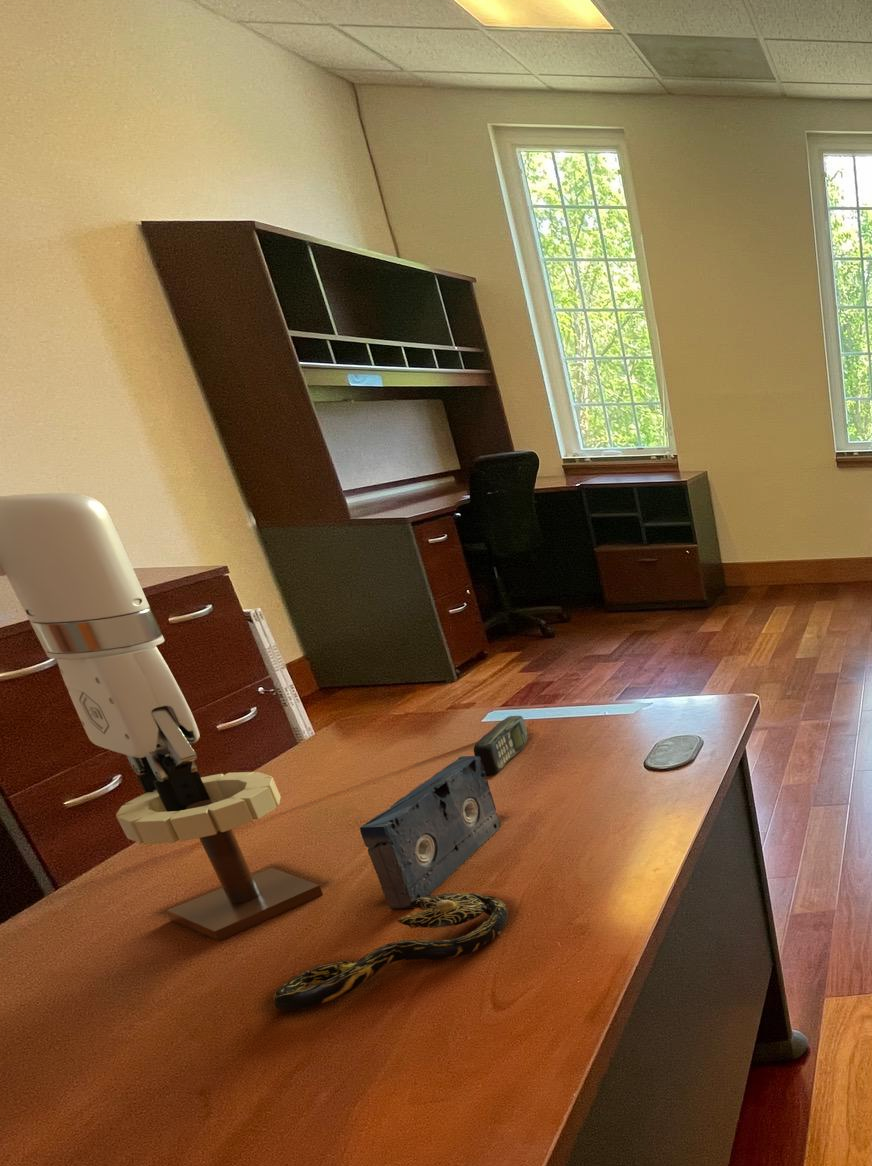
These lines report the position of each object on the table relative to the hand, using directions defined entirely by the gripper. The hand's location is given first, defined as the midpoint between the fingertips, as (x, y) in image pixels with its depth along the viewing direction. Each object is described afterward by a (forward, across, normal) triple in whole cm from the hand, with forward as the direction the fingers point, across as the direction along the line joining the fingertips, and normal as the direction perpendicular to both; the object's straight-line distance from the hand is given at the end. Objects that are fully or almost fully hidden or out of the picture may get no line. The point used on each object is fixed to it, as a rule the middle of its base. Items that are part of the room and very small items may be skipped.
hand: (183, 807), depth 80 cm
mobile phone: (+11, -8, +38) cm, 40 cm away
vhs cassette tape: (+11, +16, +14) cm, 24 cm away
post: (+11, +4, 0) cm, 12 cm away
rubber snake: (+11, +28, +1) cm, 31 cm away
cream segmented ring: (0, +4, 0) cm, 4 cm away
